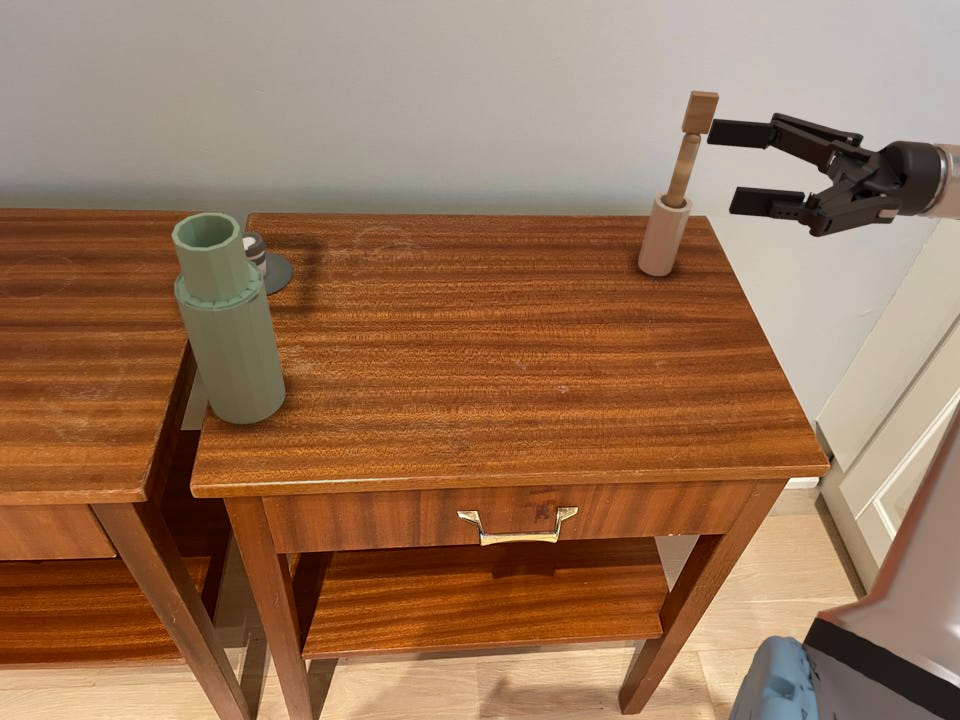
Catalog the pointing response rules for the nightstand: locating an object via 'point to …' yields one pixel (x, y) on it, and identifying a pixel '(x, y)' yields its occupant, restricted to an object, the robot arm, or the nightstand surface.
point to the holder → (663, 236)
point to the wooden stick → (691, 142)
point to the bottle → (227, 319)
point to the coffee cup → (267, 262)
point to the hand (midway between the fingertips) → (720, 163)
